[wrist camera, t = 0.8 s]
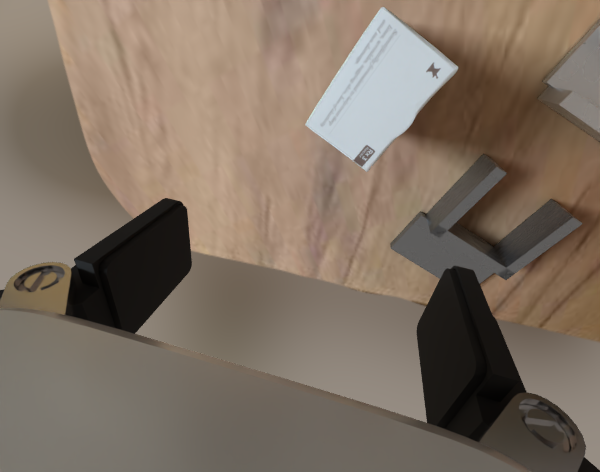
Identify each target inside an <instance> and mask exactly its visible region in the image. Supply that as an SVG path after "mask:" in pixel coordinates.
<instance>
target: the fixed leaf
mask: <svg viewBox="0 0 600 472" xmlns="http://www.w3.org/2000/svg"><path fill="white" fill-rule="evenodd" d="M506 174H507V173H506V172H505V171H504V170H503V169H502V168H501V167H500V166H499V165H498V164H497V163H495V162H494V161H493V160H492V159H491V158H489V157H488V156H486V155H485V154H483V155H482V156H481V157H480V158H479V159H478V160H477V161H476V162H475V163H474V164H473V165H472V166H471V167H470V168H469V170H468V171H467V172H466V173H465V174H464V175H463V176H462V177H461V178H460V179H459V180H458V181H457V182H456V183H455V184H454V185H453V186H452V187H451V189H450V190H449V191H448V192H447V193H446V194H445V195H444V196H443V197H442V198H441V199H440V200H439V201H438V202H437V203H436V204H435V205H434V206H433V208H432V209H431V210H430V211H429V212H428V213H427V214H426V215H425V214H424V213H422V212H421V211H420V212H419V213H418V214H417V215H416V217H415V218H414V219H413V220H412V221H411V222H410V223H409V224H408V225H407V226H406V227H405V228H404V229H403V231H402V232H401V233H400V234H399V235H398V236H397V237H396V238H395V239H394V240H393V241H392V242H391V243H390V244H391V249H393V250H394V251H396V252H397V253H399V254H401V255H402V256H404V257H406V258H407V259H409V260H410V261H412V262H414V263H415V264H417V265H419V266H420V267H422V268H423V269H425V270H427V271H428V272H430V273H431V274H433V275H435V276H436V277H438V278H441V276H442V274H443V272H444V271H445V269H447V268H448V269H451V268H452V267H453V266H459V267H463V268H468V269H472V270H474V272H475V274H476V277H477V279H478V282H479V284H480V283H481V282H483V281H484V280H485V279H486V278H488V277H489V276H490V275H492V274H493V273H495V274H497V275H499V276H500V277H502V278H503V279H505V280H507V279H508V278H509V277H511V276H512V275H514V274H515V273H516V272H518V271H519V270H520V269H522V268H523V267H524V266H526V265H527V264H529V263H530V262H531V261H533V260H534V259H535V258H537V257H538V256H539V255H541V254H542V253H544V252H545V251H546V250H548V249H549V248H550V247H552V246H553V245H554V244H556V243H557V242H559V241H560V240H561V239H563V238H564V237H565V236H567V235H568V234H569V233H571V232H572V231H574V230H575V229H576V228H578V227H579V226H580V225H582V223H581V222H580V221H579V220H578V219H577V218H575V217H574V216H573V215H572V214H571V213H569V212H568V211H567V210H566V209H565V208H563V207H562V206H561V205H560V204H558V203H557V202H555V201H554V200H552V199H551V200H549V201H548V202H547V203H546V204H545V205H543V206H542V207H541V208H540V209H538V210H537V211H536V212H535V213H534V214H532V215H531V216H530V217H529V218H528V219H526V220H525V221H524V222H523V223H522V224H520V225H519V226H518V227H517V228H516V229H514V230H513V231H512V232H511V233H509V234H508V235H507V236H506V237H505V238H503V239H502V240H501V241H500V242H499V243H497V244H496V245H495V246H492V245H491V244H489V243H488V242H486V241H484V240H483V239H481V238H480V237H478V236H477V235H475V234H473V233H472V232H470V231H469V230H467V229H466V228H464V227H462V226H461V225H459V224H458V223H456V222H457V221H458V220H459V219H460V218H461V217H462V216H463V215H464V214H465V213H466V212H467V211H468V210H469V209H470V208H472V207H473V206H474V205H475V204H476V203H477V202H478V201H479V200H480V199H481V198H482V197H483V196H484V195H485V194H486V193H487V192H488V191H489V190H490V189H491V188H492V187H493V186H494V185H495V184H497V183H498V182H499V181H500V180H501V179H502V178H503V177H504V176H505V175H506Z"/></svg>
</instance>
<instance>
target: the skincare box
mask: <svg viewBox="0 0 600 472" xmlns="http://www.w3.org/2000/svg"><path fill="white" fill-rule="evenodd" d="M457 70H458V66H457V65H456V64H454V63H453V62H452V61H451V60H450V59H448V58H447V57H446V56H445V55H444V54H443V53H442V52H440V51H439V50H438V49H437V48H435V47H434V46H433V45H432V44H430V43H429V42H428V41H427V40H426V39H424V38H423V37H422V36H421V35H419V34H418V33H417V32H416V31H414V30H413V29H412V28H411V27H409V26H408V25H407V24H406V23H404V22H403V21H402V20H400V19H399V18H398V17H397V16H395V15H394V14H393V13H391V12H390V11H389V10H387V9H386V8H384V7H382V8H381V9H380V10H379V12H378V13H377V15H376V16H375V17H374V19H373V20H372V22H371V23H370V25H369V26H368V28H367V29H366V30H365V32H364V33H363V35H362V36H361V38H360V39H359V41H358V42H357V44H356V45H355V47H354V48H353V50H352V51H351V53H350V54H349V56H348V57H347V59H346V61H345V62H344V64H343V65H342V67H341V68H340V70H339V71H338V73H337V74H336V76H335V77H334V79H333V81H332V82H331V84H330V85H329V87H328V89H327V90H326V92H325V93H324V95H323V96H322V98H321V99H320V101H319V103H318V104H317V106H316V107H315V109H314V111H313V112H312V114H311V115H310V117H309V119H308V121H307V122H306V126H307V127H309V128H310V129H311V130H312V131H314V132H315V133H316V134H318V135H319V136H320V137H322V138H323V139H324V140H326V141H327V142H329V143H330V144H331V145H333V146H334V147H335V148H337V149H338V150H339V151H341V152H342V153H343V154H344V155H346V156H347V157H348V158H350V159H351V160H352V161H353V162H355V163H356V164H357V165H359V166H360V167H361V168H362V169H364V170H365V171H369V170H370V168H371V167H372V166H373V165H374V164H375V162H376V161H377V160H378V159H379V158H380V156H381V155H382V154H383V153H384V152H385V150H386V149H387V148H388V147H389V146H390V145H391V144H392V142H393V141H394V140H395V139H396V138H397V137H398V136H399V135H401V134H403V133H404V132H405V131H406V130H407V129H408V128H409V127H410V125H411V124H412V123H413V121H414V119H415V117H416V115H417V114H418V113H419V112H420V110H421V109H422V108H423V107H424V106H425V105H426V104H427V102H428V101H429V100H430V99H431V98H432V97H433V96H434V94H435V93H436V92H437V91H438V90H439V89H440V88H441V87H442V86H443V85H444V84H445V83H446V82H447V81H448V80H449V79H450V78H451V77H452V76H453V75H454V74H455V73H456V72H457Z"/></svg>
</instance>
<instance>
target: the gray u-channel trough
mask: <svg viewBox="0 0 600 472" xmlns="http://www.w3.org/2000/svg"><path fill="white" fill-rule="evenodd" d="M542 82H543V83H545V84H546V85H548V87H547V88H546V90H545V91H544V92H543V93H542V94H541V95H540V96H539V97H538V98H537V99H539V100H540V101H542V102H543V103H544V104H546V105H547V106H549V107H550V108H552V109H553V110H554V111H556V112H557V113H559V114H560V115H562V116H563V117H565V118H566V119H567V120H569V121H570V122H572V123H573V124H575V125H576V126H578V127H579V128H580V129H582V130H583V131H585V132H586V133H588V134H589V135H590V136H592V137H593V138H595V139H596V140H598V141H599V142H600V19H599V20H598V22H597V23H596V24H595V25H594V26H593V27H592V28H591V29H590V30H589V31H588V32H587V33H586V34H585V36H584V37H583V38H582V39H581V40H580V41H579V42H578V43H577V44H576V45H575V46H574V47H573V48H572V50H571V51H570V52H569V53H568V54H567V55H566V56H565V57H564V58H563V59H562V60H561V61H560V62H559V63H558V65H557V66H556V67H555V68H554V69H553V70H552V71H551V72H550V73H549V74H548V75H547V76H546V77H545V79H544V80H543V81H542Z"/></svg>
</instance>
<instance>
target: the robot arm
mask: <svg viewBox="0 0 600 472" xmlns="http://www.w3.org/2000/svg"><path fill="white" fill-rule="evenodd" d="M74 261H75V263H76V265H75V266H74V267H73V268H70V267H69V266H68V265H66V264H63V263H57V262H47V263H41V264H36V265H33V266H30V267H27V268H25V269H23V270H21V271H19V272H18V273H16V274H15V275H14V276H12V277H11V278H10V279H9V281H8V282H7V284H6V287H5V289H4V290H0V472H600V470H598V469H597V468H596V467H595V466H594V465H593V464H591V463H590V462H589V461H588V460H587V459H586V458H585V457H584V455H585V450H586V445H585V442H584V438H583V436H582V434H581V432H580V431H579V429H578V427H577V426H576V424H575V423H574V422H573V421H572V420H571V419H570V417H569V416H568V415H567V414H566V413H565V412H564V411H562V410H561V409H560V408H559V407H558V406H557V405H555V404H553V403H552V402H550V401H549V400H547V399H545V398H543V397H541V396H539V395H536V394H532V393H527V392H526V390H525V388H524V385H523V383H522V381H521V378H520V376H519V373H518V371H517V368H516V366H515V364H514V361H513V359H512V356H511V354H510V352H509V349H508V347H507V345H506V342H505V340H504V338H503V335H502V333H501V330H500V328H499V325H498V323H497V321H496V319H495V318H494V317H493V316H492V313H491V311H490V308H489V306H488V303H487V301H486V299H485V296H484V294H483V291H482V289H481V286H480V284H479V282H478V279H477V277H476V274H475V272H474V270H472V269H468V268H463V267H459V266H453V267H452V268H451V269H448V268H447V269H445V271H444V272H443V274H442V276H441V278H440V280H439V282H438V284H437V286H436V288H435V290H434V292H433V294H432V296H431V298H430V300H429V302H428V304H427V306H426V308H425V310H424V312H423V315H422V316H421V318H420V320H419V323H418V326H417V340H418V348H419V357H420V366H421V374H422V382H423V391H424V400H425V408H426V417H427V423H425V422H422V421H419V420H416V419H413V418H410V417H407V416H404V415H401V414H398V413H395V412H391V411H388V410H385V409H382V408H379V407H376V406H373V405H369V404H366V403H363V402H360V401H356V400H353V399H350V398H347V397H343V396H340V395H337V394H334V393H330V392H327V391H324V390H321V389H317V388H314V387H311V386H307V385H304V384H301V383H298V382H295V381H291V380H288V379H285V378H281V377H278V376H275V375H271V374H268V373H265V372H261V371H258V370H255V369H251V368H248V367H245V366H242V365H238V364H235V363H231V362H228V361H224V360H222V359H218V358H215V357H211V356H208V355H205V354H201V353H198V352H195V351H191V350H188V349H185V348H181V347H178V346H174V345H171V344H168V343H164V342H161V341H157V340H154V339H151V338H147V337H144V336H141V335H137V334H135V333H136V332H137V331H138V329H139V328H140V327H141V326H142V325H143V324H144V323H145V322H146V320H147V319H148V318H149V317H150V316H151V315H152V314H153V312H154V311H155V310H156V309H157V308H158V307H159V305H161V303H162V302H163V301H164V300H165V299H166V298H167V296H168V295H169V294H170V293H171V292H172V291H173V290H174V289H175V287H176V286H177V285H178V284H179V283H180V282H181V281H182V279H183V278H184V277H185V276H186V275H187V274H188V273H189V271H190V269H191V265H192V261H191V249H190V238H189V227H188V216H187V209H186V207H185V206H183V203H182V202H181V201H177V200H172V199H168V198H165V199H163V200H161V201H160V202H158V203H157V204H155V205H154V206H152V207H151V208H149V209H148V210H146V211H145V212H143V213H142V214H140V215H139V216H137V217H136V218H134V219H133V220H131V221H130V222H128V223H127V224H125V225H124V226H122V227H121V228H119V229H118V230H116V231H115V232H113V233H112V234H110V235H109V236H108V237H106V238H104V239H103V240H102V241H100V242H99V243H97V244H96V245H94V246H93V247H91V248H90V249H88V250H87V251H85V252H84V253H82V254H81V255H79V256H78V257H76V258H75V259H74Z"/></svg>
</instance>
